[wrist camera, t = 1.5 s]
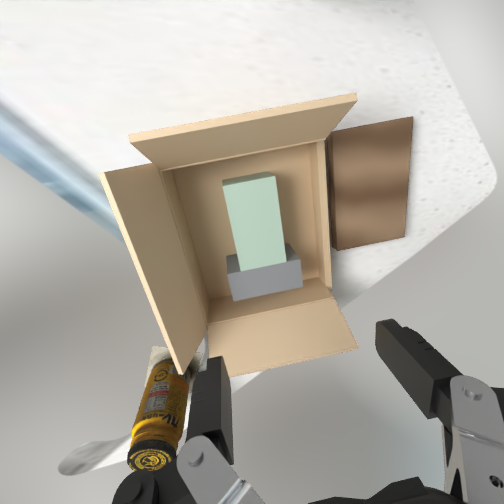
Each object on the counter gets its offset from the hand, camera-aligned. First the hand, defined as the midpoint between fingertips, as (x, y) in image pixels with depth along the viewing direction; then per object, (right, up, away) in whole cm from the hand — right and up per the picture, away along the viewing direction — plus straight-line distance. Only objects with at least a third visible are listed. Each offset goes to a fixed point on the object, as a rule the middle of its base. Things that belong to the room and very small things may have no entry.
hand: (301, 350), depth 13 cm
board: (+11, +13, +18) cm, 25 cm away
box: (-2, +7, +18) cm, 19 cm away
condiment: (-15, -13, +26) cm, 32 cm away
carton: (-2, +8, +18) cm, 20 cm away
